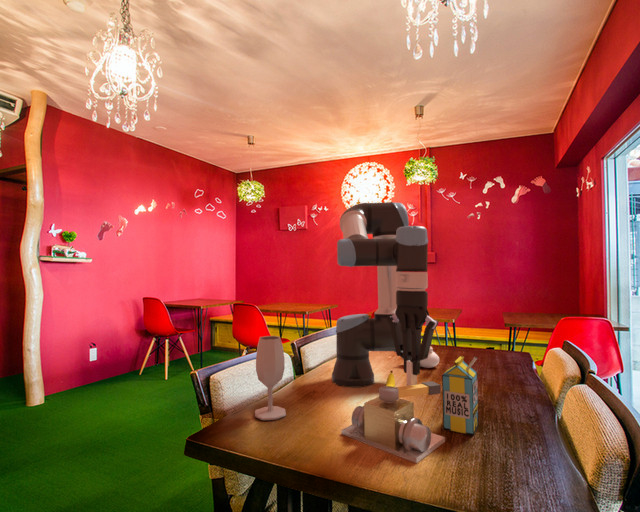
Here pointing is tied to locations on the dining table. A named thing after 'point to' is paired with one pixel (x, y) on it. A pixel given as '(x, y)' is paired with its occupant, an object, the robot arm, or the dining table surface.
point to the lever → (408, 391)
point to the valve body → (392, 429)
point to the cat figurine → (430, 360)
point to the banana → (390, 380)
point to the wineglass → (270, 373)
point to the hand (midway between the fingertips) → (411, 387)
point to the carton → (460, 398)
